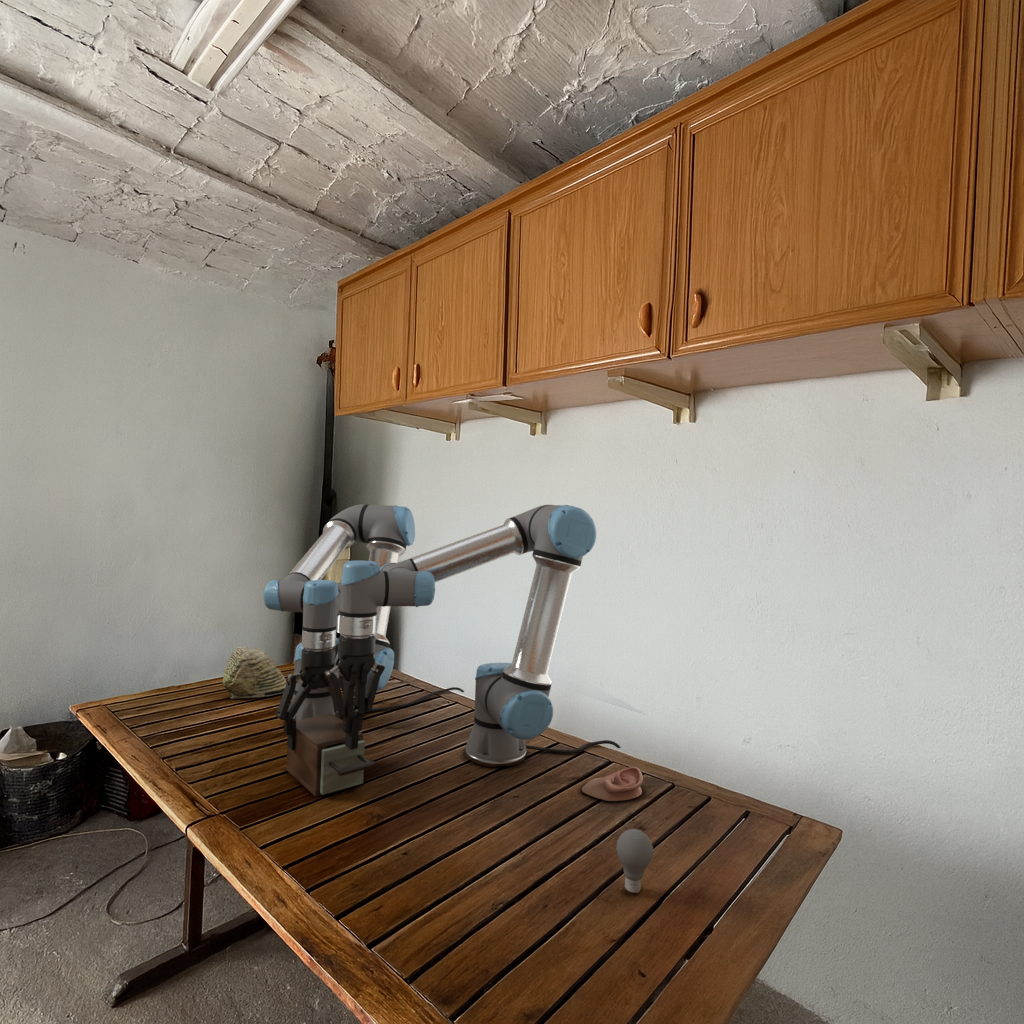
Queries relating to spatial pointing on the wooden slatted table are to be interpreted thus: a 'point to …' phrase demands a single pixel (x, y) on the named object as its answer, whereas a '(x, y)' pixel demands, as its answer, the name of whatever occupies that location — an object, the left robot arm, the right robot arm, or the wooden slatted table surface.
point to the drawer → (342, 767)
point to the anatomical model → (616, 785)
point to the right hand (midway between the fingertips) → (351, 746)
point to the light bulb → (634, 857)
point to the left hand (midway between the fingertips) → (315, 742)
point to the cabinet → (313, 748)
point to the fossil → (252, 674)
